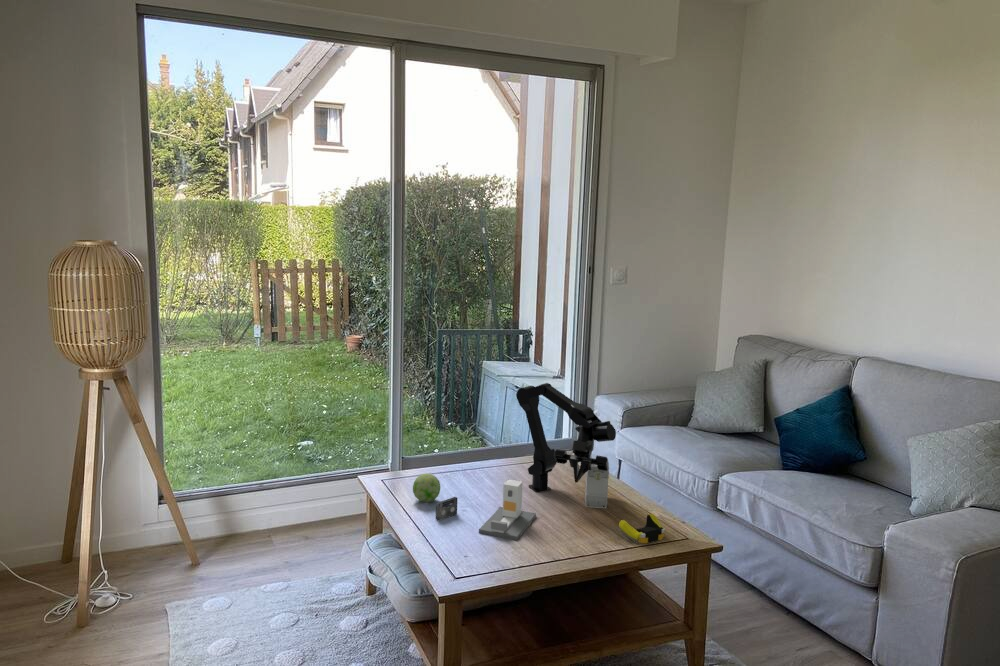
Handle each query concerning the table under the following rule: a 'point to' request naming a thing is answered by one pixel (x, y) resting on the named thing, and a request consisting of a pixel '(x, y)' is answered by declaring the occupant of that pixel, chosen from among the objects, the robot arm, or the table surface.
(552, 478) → the table surface
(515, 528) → the din rail plate
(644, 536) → the gaming controller
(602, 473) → the circuit breaker
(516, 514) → the block
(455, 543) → the table surface
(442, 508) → the mini dv tape
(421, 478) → the decorative ball
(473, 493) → the table surface
